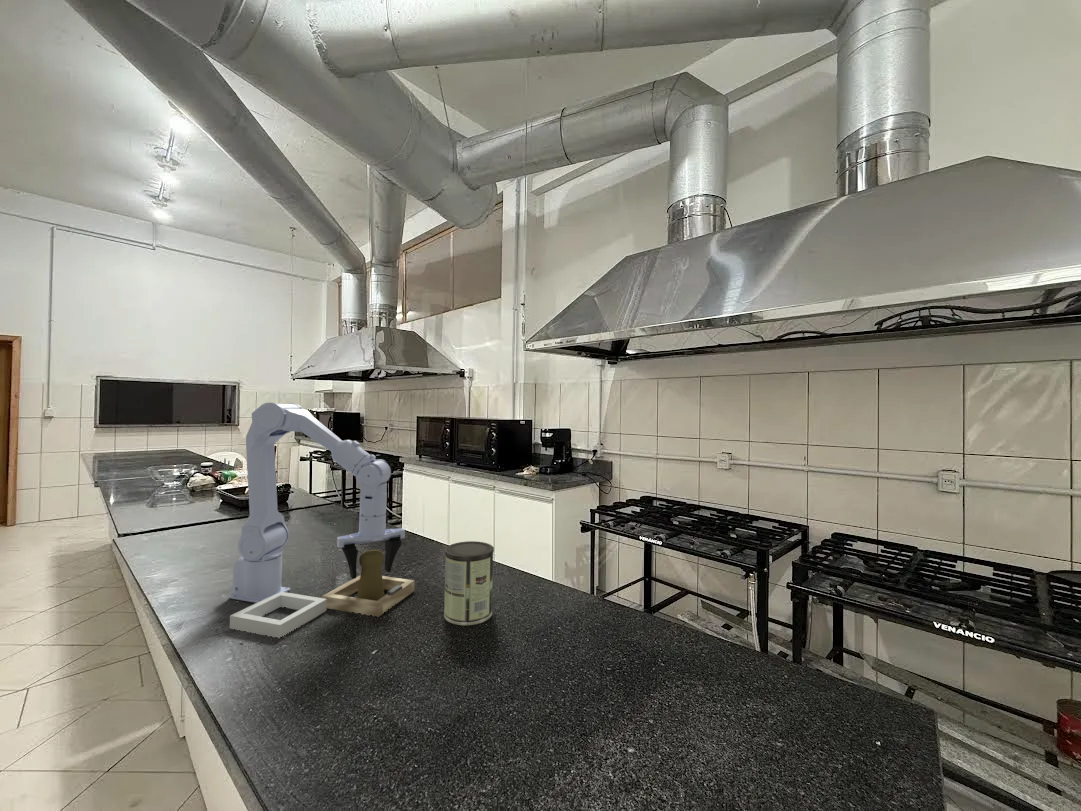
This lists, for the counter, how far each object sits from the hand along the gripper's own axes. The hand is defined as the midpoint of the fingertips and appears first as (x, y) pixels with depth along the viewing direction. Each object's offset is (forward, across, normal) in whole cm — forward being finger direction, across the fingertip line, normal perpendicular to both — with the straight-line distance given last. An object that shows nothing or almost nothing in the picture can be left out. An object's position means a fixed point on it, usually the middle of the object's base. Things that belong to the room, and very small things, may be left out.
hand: (370, 573), depth 101 cm
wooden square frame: (+6, 0, 0) cm, 6 cm away
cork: (+6, 0, -1) cm, 6 cm away
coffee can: (+6, +15, -19) cm, 25 cm away
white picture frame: (+6, -18, 0) cm, 19 cm away
